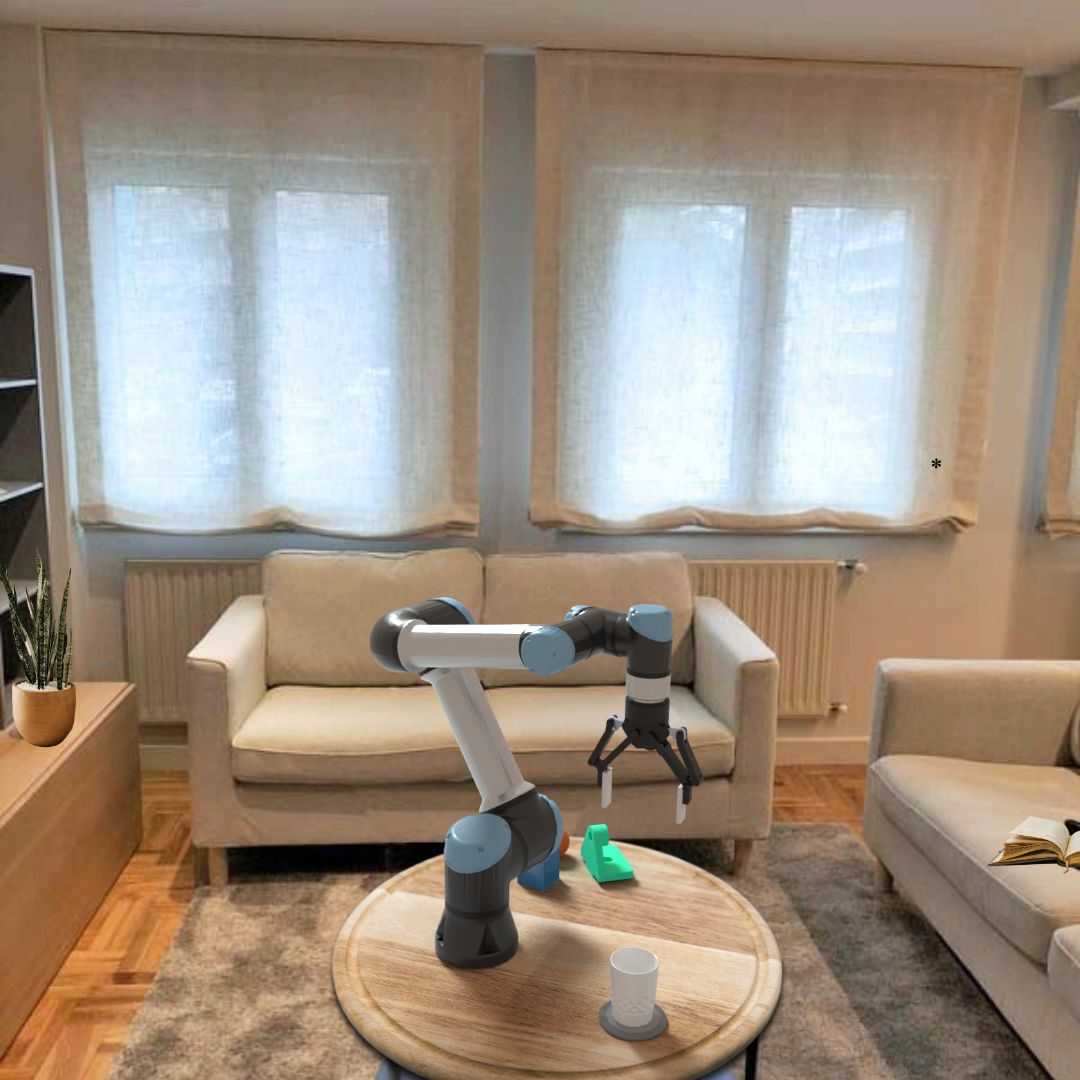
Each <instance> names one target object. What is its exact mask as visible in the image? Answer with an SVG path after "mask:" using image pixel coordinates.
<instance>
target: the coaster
mask: <svg viewBox="0 0 1080 1080" xmlns="http://www.w3.org/2000/svg"><path fill="white" fill-rule="evenodd" d="M598 1016H599V1017H598V1020H599V1023H600V1025H601V1028H602V1029H603V1030H604V1031H605V1032H607V1034H609V1035H611V1036H612V1037H615V1038H618V1039H620V1040H622V1041H623V1040H624V1041H629V1042H643V1041H649V1040H652V1039H654V1038H657V1037H658V1036H660V1035H661V1034H662V1033H663V1032H664V1031H665V1029H666V1028H667V1015H666V1012H665V1011H664V1010H663V1008H662V1007H661V1006H660V1005H658V1004H657V1003H655V1004H654V1010H653V1017H652V1021H650V1022H649V1023H648V1024H647V1025H644V1026H641V1027H628V1026H624V1025H621V1024H620V1023H618V1022H617V1021H616V1020H614V1018H613V1015H612V1000H611V999H610V1000H609V1001H607V1002H605V1003H604V1004H603V1005H602V1006H601V1008H600V1011H599V1014H598Z"/></svg>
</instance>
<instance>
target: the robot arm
mask: <svg viewBox="0 0 1080 1080" xmlns="http://www.w3.org/2000/svg"><path fill="white" fill-rule="evenodd" d="M673 619H674V618H673V612H672V611H671V610H670V609H669V608H668V607H666V606H664V605H661V604H660V605H659V604H655V603H654V604H653V603H652V604H651V603H650V604H649V603H638V604H635V605H633V606H631V607H630V608H629V610H628V613H624V612H619V611H615V610H610V609H606V608H600V607H598V606H596V605H581V604H579V605H578V604H577V605H574V606H572V607H571V608H570V609H569V612H567V613H566V614H565V616H564V619H563V620H561V621H559V622H556V623H547V624H545V623H543V624H540V623H539V624H528V623H527V624H521V623H520V624H517V623H515V624H511V623H510V624H509V623H508V624H476V622H475V619H474V617H473V615H472V613H471V612H470V610H469V608H467V607H466V606H465V604H463V603H462V602H460V601H459V600H456V599H454V598H452V597H442V596H441V597H438V598H429V599H426V600H424V601H420V602H417V603H414V604H411V605H407V606H405V607H401V608H398V609H395V610H391V611H389V612H386V613H385V614H383V615H382V616H381V617H380V618H378V620H377V621H376V622H375V623H374V625H373V627H372V628H371V631H370V635H369V649H370V653H371V655H372V657H373V658H374V661H375V662H376V663H377V664H378V665H379V666H380V667H381V668H383V669H384V670H387V671H389V672H392V673H415V674H416V673H417V674H418V675H419V678H420V680H421V681H425V682H427V683H429V684H431V685H432V687H433V690H434V692H435V695H436V697H437V699H438V702H439V703H440V706H441V708H442V711H443V713H444V716H445V717H446V720H447V721H448V725H449V727H450V728H451V730H452V733H453V735H454V738H455V740H456V742H457V745H458V747H459V749H460V752H461V754H462V756H463V757H464V760H465V763H466V765H467V768H468V770H469V772H470V774H471V776H472V778H473V781H474V783H475V786H476V788H477V790H478V792H479V795H480V797H481V804H480V807H479V809H478V813H477V814H476V815H473V814H472V815H471V814H470V815H467V816H464V817H462V818H460V819H459V820H457V821H456V822H454V823H453V824H452V825H451V826H450V827H449V829H448V830H447V832H446V835H445V843H444V848H443V858H444V908H443V911H442V913H441V917H440V920H439V923H438V924H437V928H436V931H435V935H434V950H435V952H436V954H437V957H439V958H440V959H441V960H442V961H444V962H445V963H447V964H449V965H451V966H454V967H457V968H460V969H467V970H468V969H469V970H484V969H490V968H495V967H497V966H501V965H503V964H505V963H507V962H508V961H510V960H511V959H512V958H514V956H516V954H517V952H518V949H519V931H518V929H517V926H516V923H515V920H514V916H513V914H512V910H511V908H510V884H511V882H512V881H513V880H515V879H516V878H517V877H518V876H520V875H521V874H523V873H524V872H526V871H527V870H529V869H530V868H532V867H533V866H535V865H536V864H538V863H541V862H544V861H545V860H546V859H547V858H548V857H549V856H550V855H551V854H553V853H554V852H555V851H556V850H557V849H558V847H559V846H560V844H561V841H562V838H563V834H564V829H565V827H564V819H563V816H562V812H561V810H560V808H559V807H558V805H557V804H556V803H555V802H554V800H552V799H550V798H549V797H548V796H547V795H544V794H541V793H539V792H538V789H537V787H536V785H535V784H533V783H531V782H528V781H526V780H525V779H524V778H523V776H522V774H521V773H522V772H521V770H520V769H519V767H518V764H517V762H516V759H515V758H514V756H513V753H512V750H511V749H510V747H509V744H508V742H507V740H506V737H505V735H504V733H503V731H502V728H501V726H500V724H499V721H498V720H497V719H498V718H496V714H495V713H494V710H493V708H492V706H491V704H490V702H489V699H488V697H487V695H486V693H485V691H484V687H483V686H482V684H481V682H480V679H479V676H478V675H477V672H476V670H475V669H491V670H492V669H495V670H496V669H497V670H498V669H500V670H505V669H506V670H528V671H529V672H532V673H533V674H534V675H536V676H539V677H541V676H542V677H546V676H548V677H549V676H551V675H556V674H559V673H561V672H564V671H565V670H566V669H569V668H571V667H574V666H577V664H580V663H582V662H584V661H587V660H590V659H592V658H594V657H596V656H598V655H608V656H613V657H616V658H617V657H618V658H620V659H622V658H623V659H625V660H626V671H625V672H626V673H625V675H626V676H625V678H626V679H625V694H626V695H625V699H624V700H625V701H624V719H622V718H619V717H618V715H616V714H613V715H611V716H610V717H609V718H608V719H606V723H605V730H604V731H603V734H602V735H601V737H600V739H599V740H598V743H597V744H596V745H595V747H594V749H593V751H592V752H591V754H590V756H589V758H588V760H587V762H586V763H587V764H588V766H590V767H594V768H596V770H597V782H596V784H597V786H598V788H601V808H602V809H606V808H607V807H608V806H609V805H610V804H611V803H612V787H613V785H612V784H613V767H610V766H609V765H610V764H611V763H612V762H613V761H614V760H615V759H616V758H618V756H619V755H620V754H622V753H623V752H624V751H625V750H626V749H627V748H628V747H629V746H630V745H632V746H633V747H634V748H635V749H639V750H640V749H641V750H642V749H644V750H646V751H650V752H654V751H656V753H657V754H658V755H659V756H660V757H662V759H663V760H664V761H665V763H666V764H667V766H668V767H669V769H670V770H671V771H672V773H673V774H674V775H675V778H676V779H677V780H678V782H679V783H680V784H679V785H678V786H677V800H676V801H677V802H676V817H675V819H676V821H675V823H676V824H677V825H678V824H679V825H680V824H682V823H683V822H684V821H685V818H686V808H687V806H688V805H689V804H690V803H691V802H692V798H693V797H692V796H693V787H699V786H700V785H701V784H702V783H703V781H704V780H705V779H704V778H705V777H704V775H703V773H702V770H701V768H700V765H699V763H698V761H697V758H696V756H695V754H694V752H693V749H692V746H691V744H690V741H689V738H688V729H687V728H686V727H685V726H681V727H680V728H676V727H675V728H671V726H670V723H669V722H670V704H671V703H670V701H671V700H670V698H669V697H670V695H671V680H672V679H671V678H672V649H673V639H674V636H675V635H674V629H673V628H674V624H673V623H674V621H673ZM620 728H621V729H622V731H623V733H624V734H625V735H626V737H625V739H623V741H621V742H620V743H619V745H617V746H616V747H615V748H614V749H613V750H612V751H611V752H610V753H609V754H608V755H607V756H606V757H604V759H602V758H601V757H602V754H603V753H604V752H605V750H606V748H607V746H608V744H609V743H610V741H611V740H612V737H613V735H614V734H615V732H617V731H618V730H620ZM668 737H672V739H673V742H676V747H677V749H678V752H679V754H680V757H681V759H682V760H681V759H680V758H679V756H678V755H677V754H676V752H675V751H674V749H673V748H672V745H671V743H670V740H668ZM683 763H684V764H683Z"/></svg>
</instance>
